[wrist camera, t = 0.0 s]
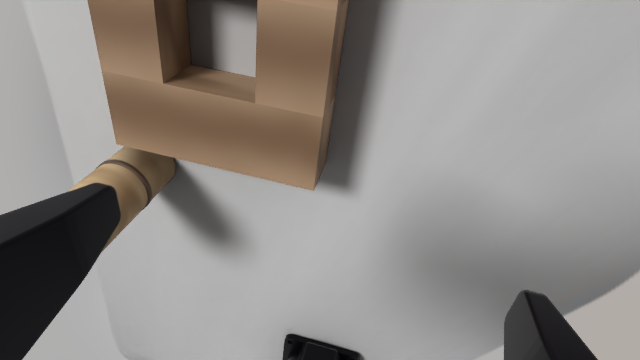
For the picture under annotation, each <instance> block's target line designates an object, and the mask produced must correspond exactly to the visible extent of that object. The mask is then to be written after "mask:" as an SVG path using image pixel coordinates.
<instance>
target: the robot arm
mask: <svg viewBox="0 0 640 360" xmlns="http://www.w3.org/2000/svg"><path fill="white" fill-rule="evenodd" d="M120 219H121V210H120V206H119V201H118V197H117V192H116V190H115V188H114V187H112V186H110V185H106V184H102V183H92V184H89V185H86V186H83V187H80V188H78V189H75V190H72V191H69V192H66V193H63V194H60V195H57V196H54V197H51V198H49V199H46V200H43V201H40V202H37V203H34V204H31V205H28V206H25V207H22V208H20V209H17V210H14V211H11V212H8V213H5V214H2V215H0V360H22V359H23V358H24V356H25V355H26V354H27V353H28V351H29V350H30V349H31V347H32V346H33V345H34V344H35V342H36V341H37V340H38V338H39V337H40V336H41V334H42V333H43V332H44V331H45V329H46V328H47V327H48V325H49V324H50V323H51V322H52V320H53V319H54V318H55V316H56V315H57V314H58V313H59V311H60V310H61V309H62V307H63V306H64V305H65V303H66V302H67V301H68V300H69V298H70V297H71V295H72V294H73V293H74V292H75V291H76V289H77V288H78V287H79V285H80V284H81V283H82V281H83V280H84V278H85V277H86V275H87V274H88V272H89V271H90V269H91V268H92V266H93V265H94V263H95V261H96V260H97V258H98V257H99V255H100V253H101V252H102V250H103V249H104V247H105V245H106V244H107V242H108V241H109V239H110V237H111V236H112V234H113V232H114V231H115V229H116V228H117V226H118V224H119V222H120ZM359 359H360V356H359V355H358V354H357V353H355V352H351V351H348V350H344V349H341V348H337V347H334V346H330V345H327V344H323V343H319V342H316V341H312V340H309V339H305V338H302V337H298V336H295V335H291V334H289V335H287V336H286V338H285V342H284V351H283V360H359ZM504 360H598V359H597V358H596V357H595V356H594V354H593V353H592V352H591V351H590V350H589V348H588V347H587V346H586V345H585V343H584V342H583V341H582V340H581V338H580V337H579V336H578V335H577V333H576V332H575V331H574V330H573V328H572V327H571V326H570V325H569V324H568V322H567V321H566V320H565V319H564V317H563V316H562V315H561V314H560V312H559V311H558V310H557V309H556V307H555V306H554V305H553V304H552V303H551V301H550V300H549V299H548V298H547V297H546V296H545V295H543V294H541V293H537V292H533V291H529V290H523V291H521V292H520V293H519V295H518V296H517V298H516V300H515V301H514V303H513V305H512V306H511V308H510V310H509V311H508V313H507V315H506V318H505V323H504Z"/></svg>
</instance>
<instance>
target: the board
mask: <svg viewBox="0 0 640 360" xmlns="http://www.w3.org/2000/svg"><path fill="white" fill-rule="evenodd" d="M348 4H349V0H257V43H256V78H254V77H249V76H244V75H239V74H234V73H229V72H224V71H219V70H215V69H210V68H205V67H200V66H195V65H191V55H190V41H189V27H188V13H187V0H88V5H89V10H90V15H91V20H92V25H93V30H94V35H95V39H96V44H97V49H98V54H99V59H100V64H101V69H102V74H103V79H104V84H105V89H106V94H107V99H108V104H109V109H110V114H111V119H112V124H113V129H114V134H115V139H116V144H118V145H122V146H127V147H131V148H135V149H139V150H144V151H148V152H152V153H156V154H160V155H165V156H169V157H173V158H177V159H182V160H186V161H190V162H194V163H199V164H203V165H207V166H211V167H215V168H220V169H224V170H228V171H232V172H237V173H241V174H245V175H249V176H254V177H258V178H262V179H266V180H270V181H275V182H279V183H283V184H287V185H292V186H296V187H300V188H304V189H309V190H313V191H314V189H315V186H316V184H317V182H318V179H319V177H320V175H321V173H322V170H323V168H324V166H325V163H326V158H327V151H328V144H329V137H330V130H331V123H332V116H333V109H334V102H335V95H336V88H337V81H338V74H339V67H340V60H341V53H342V46H343V39H344V32H345V25H346V18H347V11H348Z"/></svg>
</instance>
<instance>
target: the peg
mask: <svg viewBox="0 0 640 360" xmlns="http://www.w3.org/2000/svg"><path fill="white" fill-rule="evenodd" d="M175 172H176V164H175V161H174V158H173V157H169V156H165V155H160V154H156V153H152V152H148V151H144V150H139V149H135V148H131V147H127V146H125V147H123V148H122V149H121V150H120V151H118V152H117V153H116V154H114V155H113V156H112V157H111V158H109V159H108V160H107V161H104V162H103V163H102V164H100V165H99V166H98V167H97V168H96V169H95V170H94V171H93V172H92V173H90V174H89V175H88V176H87V177H85V178H84V179H83V180H81V181H80V182H79V183H78V184H76V185H75V186H74V187H73V188H71V189H70V190H69V191H72V190H75V189H78V188H80V187H83V186H86V185H89V184H92V183H102V184H106V185H110V186H112V187H114V188H115V190H116V192H117V197H118V201H119V206H120V210H121V219H120V222H119V224H118V226H117V228H116V229H115V231H114V232H113V234H112V236H111V237H110V239H109V241H108V242H107V244H106V245H105V247H104V249H105V248H106V247H107V246H108V245H109V244H110V243H111V242H112V241H113V240H114V239H115V238H116V236H117V235H118V234H119V233H120V232H121V231H122V230H123V229H124V228H125V227H126V226H127V225H128V224H129V223H130V222H131V221H132V220H133V219H134V218H135V217H136V216H137V215H138V213H139V212H140V211H141V210H143V209H144V208H145V207H146V206H147V205H148V204H149V203H150V201H151V200H152V199H153V198H154V197H155V196H156V195H157V194H158V193H159V192H160V190H161V189H162V188H163V187H164V186H165V185H166V184H167V183H168V182H169V181H170V180H171V179H172V178H173V177H174V175H175ZM69 191H68V192H69ZM104 249H103V250H104ZM103 250H102V251H103Z"/></svg>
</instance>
